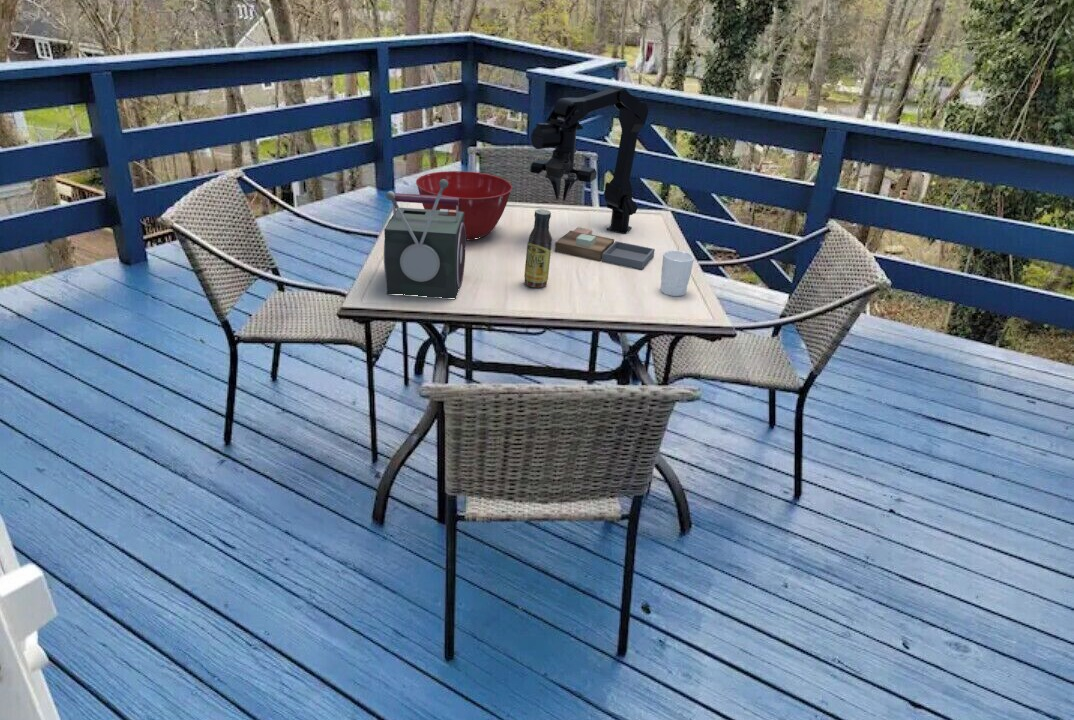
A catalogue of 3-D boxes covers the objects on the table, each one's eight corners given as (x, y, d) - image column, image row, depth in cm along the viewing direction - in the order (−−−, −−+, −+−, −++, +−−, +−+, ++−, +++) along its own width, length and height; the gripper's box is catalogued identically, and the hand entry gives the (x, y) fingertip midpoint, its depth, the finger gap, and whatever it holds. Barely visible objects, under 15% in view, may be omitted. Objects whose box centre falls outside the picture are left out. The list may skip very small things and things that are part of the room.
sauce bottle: (519, 285, 196) (523, 211, 186) (531, 277, 201) (535, 205, 191) (541, 291, 193) (546, 216, 184) (552, 283, 198) (558, 210, 189)
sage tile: (581, 240, 220) (581, 233, 220) (595, 243, 219) (596, 236, 218) (575, 244, 217) (576, 238, 216) (590, 247, 215) (590, 240, 214)
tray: (614, 249, 224) (615, 241, 223) (653, 257, 220) (654, 248, 219) (601, 261, 214) (602, 253, 213) (642, 270, 211) (643, 261, 209)
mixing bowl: (496, 216, 245) (497, 169, 237) (522, 246, 221) (524, 195, 214) (409, 220, 236) (408, 171, 229) (426, 252, 213) (426, 198, 205)
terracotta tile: (577, 233, 226) (578, 227, 225) (591, 236, 224) (592, 229, 223) (572, 237, 222) (572, 231, 221) (586, 240, 220) (587, 234, 219)
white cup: (670, 283, 204) (675, 248, 199) (694, 292, 199) (700, 257, 194) (652, 290, 199) (657, 254, 194) (676, 299, 194) (682, 263, 189)
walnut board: (569, 239, 229) (570, 230, 227) (613, 248, 224) (614, 239, 223) (554, 251, 219) (555, 242, 218) (600, 261, 215) (601, 251, 213)
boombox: (465, 271, 202) (467, 159, 188) (456, 303, 184) (457, 182, 169) (398, 267, 202) (395, 155, 188) (382, 298, 184) (377, 177, 169)
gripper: (523, 146, 210) (520, 201, 217) (586, 156, 203) (581, 212, 211) (539, 139, 219) (536, 191, 226) (599, 148, 213) (594, 202, 220)
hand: (560, 199), depth 221 cm, fingers closed
